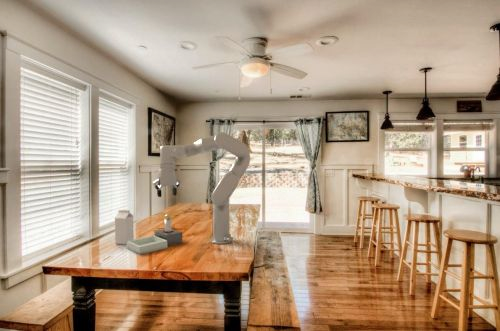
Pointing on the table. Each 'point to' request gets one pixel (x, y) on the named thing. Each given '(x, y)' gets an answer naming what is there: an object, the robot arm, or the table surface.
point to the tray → (146, 244)
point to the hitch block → (170, 236)
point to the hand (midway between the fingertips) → (167, 196)
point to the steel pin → (167, 223)
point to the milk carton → (123, 227)
